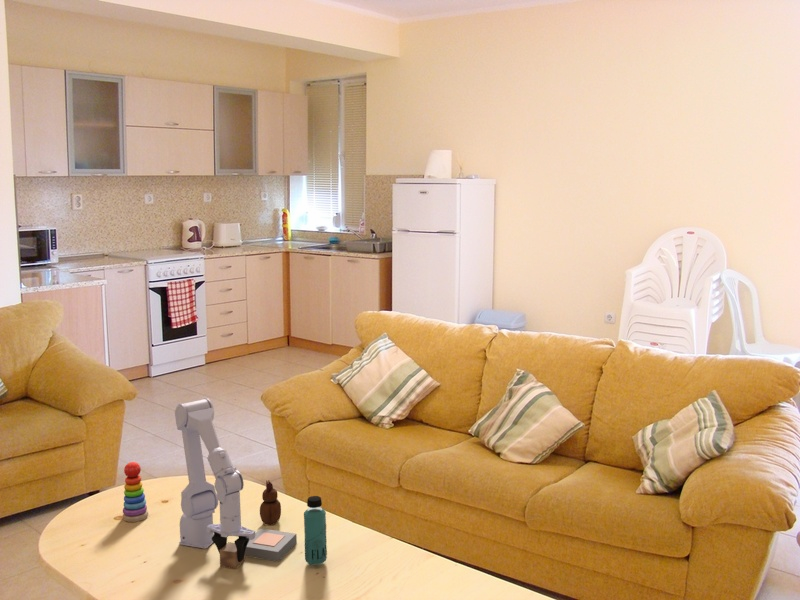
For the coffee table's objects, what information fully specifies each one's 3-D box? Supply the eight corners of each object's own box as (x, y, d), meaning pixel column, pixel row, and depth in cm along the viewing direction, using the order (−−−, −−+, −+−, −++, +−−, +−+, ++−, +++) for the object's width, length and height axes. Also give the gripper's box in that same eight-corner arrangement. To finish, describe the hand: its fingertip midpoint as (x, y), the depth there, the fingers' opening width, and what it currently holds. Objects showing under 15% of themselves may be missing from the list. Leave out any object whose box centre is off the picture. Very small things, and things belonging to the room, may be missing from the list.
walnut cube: (220, 566, 218) (219, 549, 217) (229, 558, 222) (228, 542, 222) (235, 569, 216) (234, 552, 215) (244, 560, 221) (243, 544, 220)
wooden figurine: (269, 529, 241) (267, 483, 238) (256, 524, 244) (255, 479, 242) (284, 521, 246) (283, 477, 244) (272, 516, 250) (270, 473, 247)
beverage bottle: (309, 572, 214) (307, 504, 211) (301, 561, 220) (299, 495, 217) (331, 566, 217) (329, 499, 214) (322, 556, 223) (320, 491, 220)
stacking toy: (153, 516, 251) (150, 461, 248) (133, 525, 244) (129, 469, 241) (137, 510, 255) (134, 456, 252) (117, 519, 248) (113, 464, 245)
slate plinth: (241, 555, 224) (240, 545, 223) (261, 537, 235) (260, 527, 235) (278, 561, 220) (277, 551, 220) (296, 543, 231) (296, 533, 231)
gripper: (200, 516, 215) (202, 561, 218) (245, 523, 211) (247, 569, 213) (213, 506, 222) (216, 550, 224) (258, 513, 218) (260, 557, 220)
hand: (232, 558), depth 219 cm, fingers closed on walnut cube, 5 cm apart
